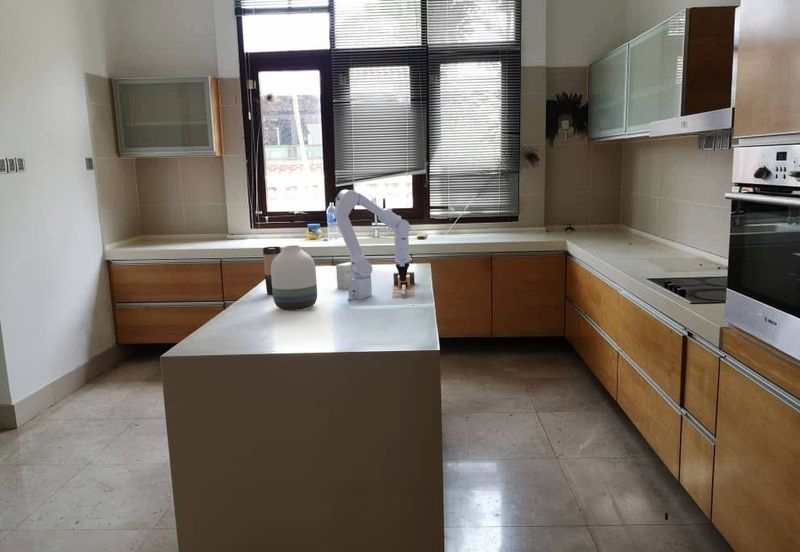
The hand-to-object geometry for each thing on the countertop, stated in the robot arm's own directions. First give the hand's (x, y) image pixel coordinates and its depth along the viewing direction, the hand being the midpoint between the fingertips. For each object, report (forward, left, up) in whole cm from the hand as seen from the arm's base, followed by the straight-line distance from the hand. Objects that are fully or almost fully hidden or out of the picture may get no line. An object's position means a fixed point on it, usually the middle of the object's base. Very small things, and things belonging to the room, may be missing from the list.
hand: (403, 281), depth 266 cm
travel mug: (-23, +53, -5) cm, 58 cm away
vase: (-40, +23, -5) cm, 46 cm away
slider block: (+8, +5, -4) cm, 10 cm away
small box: (+1, +32, -5) cm, 32 cm away
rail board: (+1, 0, -5) cm, 5 cm away
